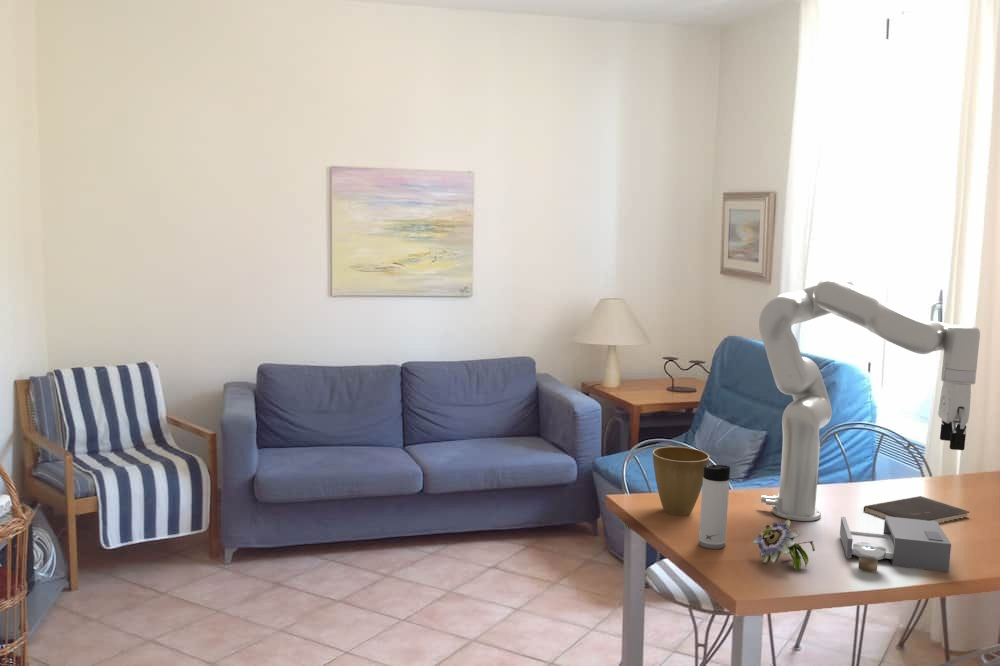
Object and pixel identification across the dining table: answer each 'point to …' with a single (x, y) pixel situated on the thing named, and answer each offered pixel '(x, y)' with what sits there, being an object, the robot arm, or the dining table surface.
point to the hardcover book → (917, 509)
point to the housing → (918, 543)
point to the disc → (869, 551)
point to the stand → (867, 565)
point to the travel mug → (714, 506)
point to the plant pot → (679, 477)
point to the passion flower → (781, 544)
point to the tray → (864, 539)
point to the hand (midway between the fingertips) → (951, 444)
